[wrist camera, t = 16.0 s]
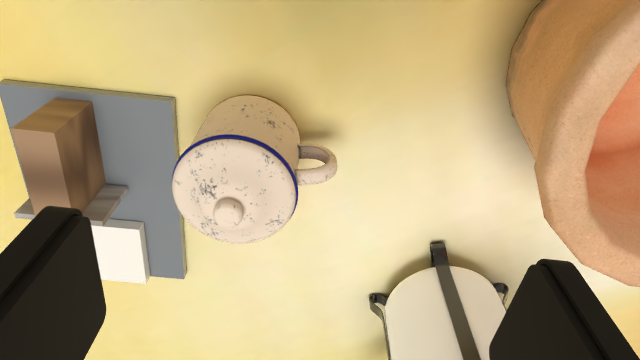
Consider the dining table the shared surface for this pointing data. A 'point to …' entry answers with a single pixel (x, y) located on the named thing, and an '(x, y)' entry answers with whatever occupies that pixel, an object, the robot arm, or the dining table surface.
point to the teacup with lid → (245, 171)
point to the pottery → (584, 125)
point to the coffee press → (441, 313)
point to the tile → (122, 251)
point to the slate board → (125, 158)
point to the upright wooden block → (64, 161)
